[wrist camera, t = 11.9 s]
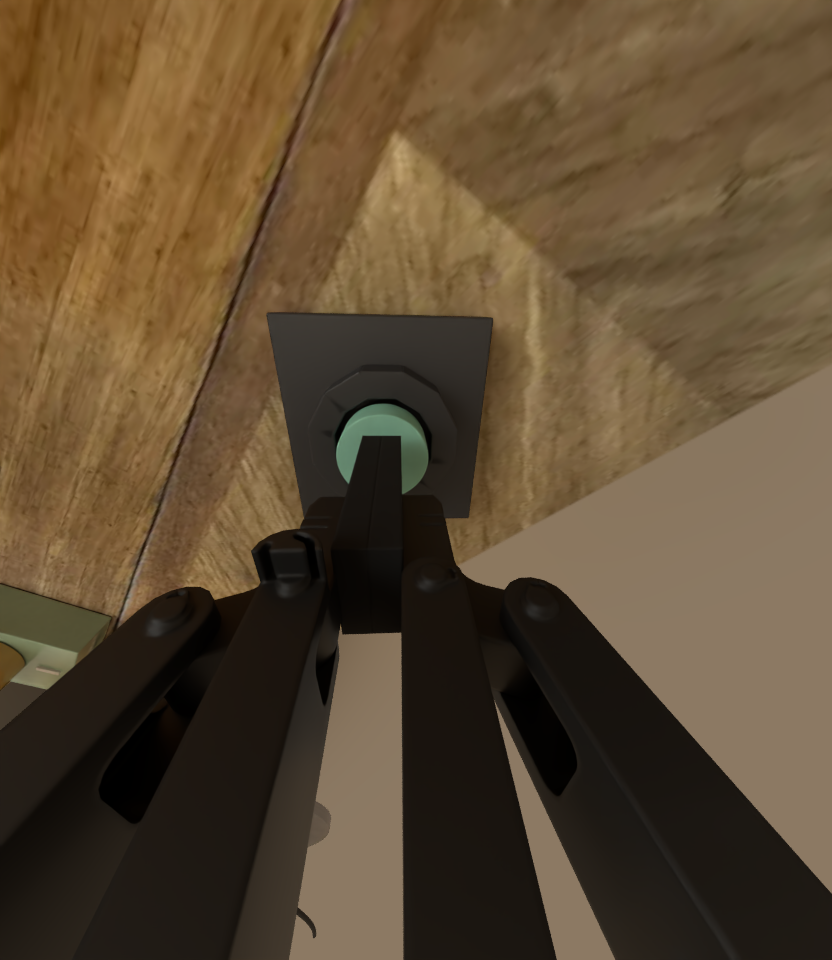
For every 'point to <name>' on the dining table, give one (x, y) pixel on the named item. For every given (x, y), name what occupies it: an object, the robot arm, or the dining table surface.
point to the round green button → (385, 424)
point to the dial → (9, 664)
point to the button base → (383, 392)
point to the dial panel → (47, 634)
